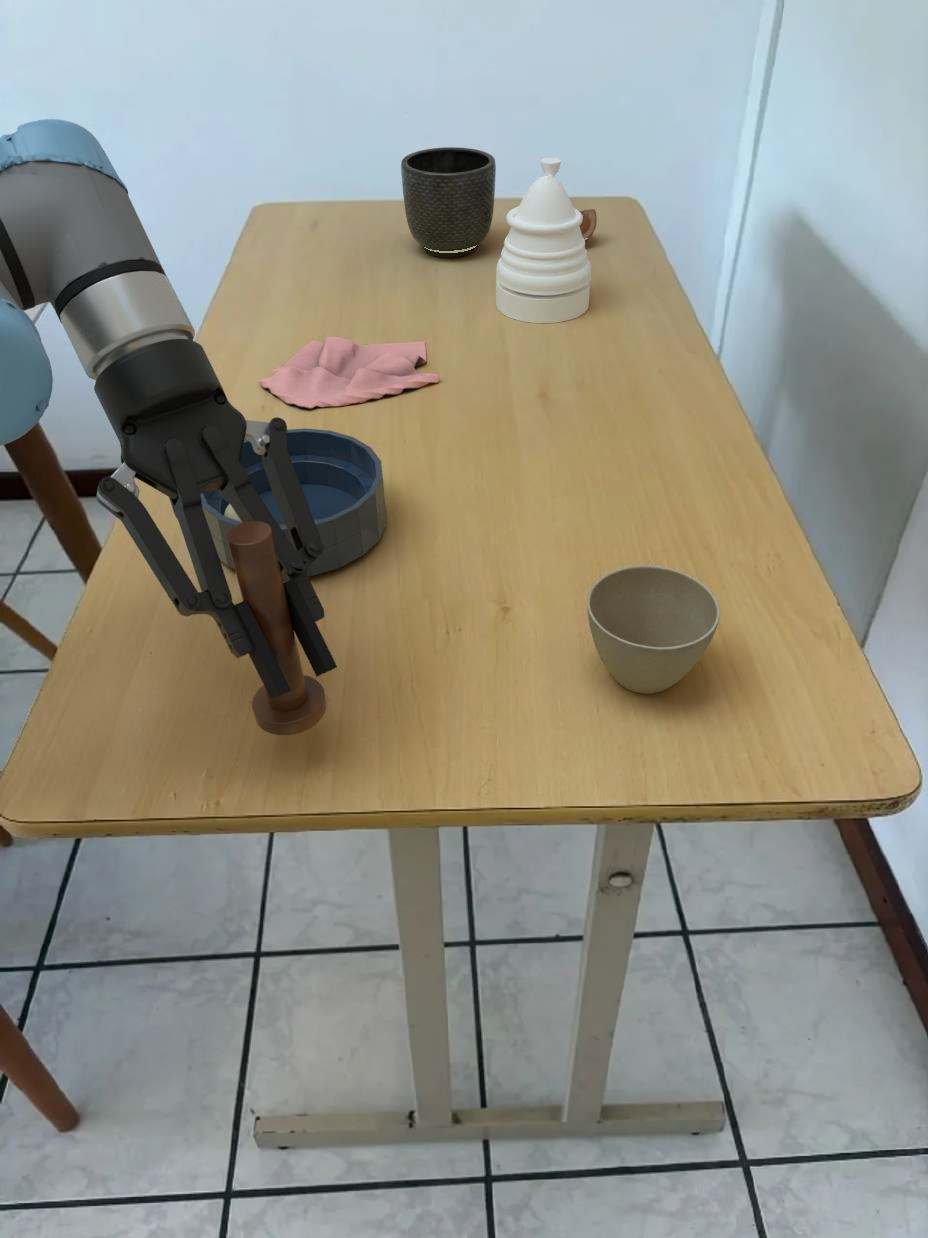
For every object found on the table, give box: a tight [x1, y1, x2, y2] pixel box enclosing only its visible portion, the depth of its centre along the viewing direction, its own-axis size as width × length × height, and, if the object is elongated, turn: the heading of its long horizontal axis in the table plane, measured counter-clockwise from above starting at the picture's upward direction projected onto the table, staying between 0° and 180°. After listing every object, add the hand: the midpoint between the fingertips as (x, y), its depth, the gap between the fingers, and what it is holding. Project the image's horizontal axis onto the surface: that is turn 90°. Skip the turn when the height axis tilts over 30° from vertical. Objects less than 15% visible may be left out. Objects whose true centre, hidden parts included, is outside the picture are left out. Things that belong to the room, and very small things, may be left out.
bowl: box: [200, 427, 388, 577], centre depth 91 cm, size 17×17×6 cm
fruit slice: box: [579, 208, 598, 239], centre depth 148 cm, size 8×7×5 cm
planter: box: [400, 146, 497, 259], centre depth 144 cm, size 14×14×13 cm
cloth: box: [257, 336, 440, 410], centre depth 117 cm, size 20×22×2 cm
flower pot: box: [586, 564, 721, 695], centre depth 75 cm, size 10×10×7 cm
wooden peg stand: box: [227, 521, 328, 736], centre depth 64 cm, size 5×5×15 cm
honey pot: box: [495, 157, 592, 324], centre depth 127 cm, size 13×13×18 cm
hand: (303, 682), depth 64 cm, fingers closed on wooden peg stand, 3 cm apart
